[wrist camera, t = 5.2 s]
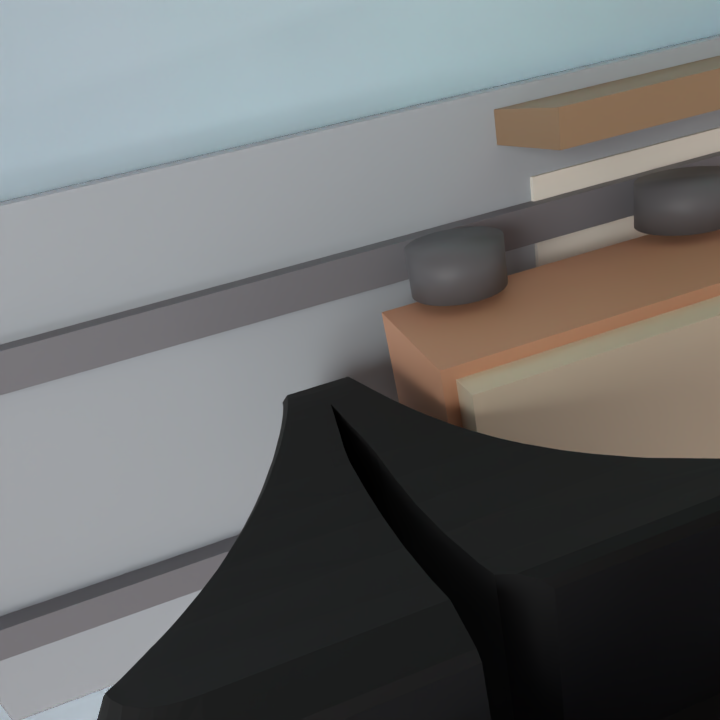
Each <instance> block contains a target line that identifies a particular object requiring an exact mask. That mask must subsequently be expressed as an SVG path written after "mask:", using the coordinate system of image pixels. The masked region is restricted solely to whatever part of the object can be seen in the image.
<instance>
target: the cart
mask: <svg viewBox="0 0 720 720" xmlns="http://www.w3.org/2000/svg"><path fill="white" fill-rule="evenodd" d="M634 228H635V229H636V230H637V231H639V232H642V233H645V234H648V235H645V236H642V237H638V238H635V239H631V240H628V241H624V242H621V243H618V244H614V245H611V246H607V247H604V248H600V249H597V250H594V251H590V252H587V253H583V254H580V255H577V256H573V257H570V258H566V259H563V260H559V261H556V262H553V263H549V264H546V265H542V266H539V267H535V268H532V269H529V270H525V271H522V272H518V273H515V274H511V275H508V276H507V266H506V255H505V245H504V234H503V232H502V231H501V230H499V229H497V228H493V227H484V226H472V227H460V228H453V229H447V230H442V231H438V232H434V233H431V234H428V235H425V236H422V237H419V238H417V239H415V240H413V241H411V242H410V243H408V244H407V245H406V246H405V248H404V252H405V258H406V264H407V270H408V276H409V282H410V288H411V294H412V297H413V299H414V300H415V301H417V302H415V303H412V304H409V305H405V306H402V307H398V308H395V309H391V310H388V311H385V312H381V313H382V318H383V323H384V328H385V333H386V338H387V343H388V348H389V353H390V359H391V364H392V369H393V374H394V379H395V384H396V389H397V394H398V399H399V403H401V404H403V405H405V406H407V407H410V408H412V409H414V410H416V411H419V412H421V413H423V414H426V415H428V416H431V417H434V418H436V419H439V420H442V421H444V422H447V423H450V424H452V425H455V426H458V427H461V428H465V429H468V430H471V431H475V432H479V433H482V434H486V435H490V436H493V437H497V438H501V439H505V440H510V441H514V442H519V443H524V444H529V445H535V446H541V447H547V448H553V449H559V450H566V451H574V452H582V453H591V454H603V455H615V456H628V457H643V458H720V166H693V167H683V168H675V169H669V170H664V171H659V172H655V173H651V174H648V175H645V176H642V177H640V178H638V179H636V180H635V181H634Z"/></svg>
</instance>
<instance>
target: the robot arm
mask: <svg viewBox="0 0 720 720" xmlns="http://www.w3.org/2000/svg"><path fill="white" fill-rule="evenodd" d="M97 720H720V458H643V457H628V456H615V455H603V454H591V453H582V452H574V451H566V450H559V449H553V448H547V447H541V446H535V445H529V444H524V443H519V442H514V441H510V440H505V439H501V438H497V437H493V436H490V435H486V434H482V433H479V432H475V431H471V430H468V429H465V428H461V427H458V426H455V425H452V424H450V423H447V422H444V421H442V420H439V419H436V418H434V417H431V416H428V415H426V414H423V413H421V412H419V411H416V410H414V409H412V408H410V407H407V406H405V405H403V404H401V403H399V402H397V401H394V400H392V399H390V398H388V397H386V396H384V395H382V394H381V393H379V392H377V391H375V390H373V389H371V388H369V387H367V386H365V385H363V384H362V383H360V382H358V381H356V380H354V379H352V378H350V377H345V378H341V379H338V380H335V381H332V382H328V383H325V384H322V385H319V386H315V387H312V388H309V389H306V390H302V391H299V392H296V393H293V394H289V395H287V396H286V398H285V399H284V401H283V418H282V424H281V430H280V434H279V438H278V442H277V446H276V450H275V454H274V457H273V460H272V463H271V466H270V468H269V471H268V474H267V477H266V479H265V482H264V485H263V488H262V490H261V492H260V495H259V497H258V499H257V501H256V504H255V506H254V508H253V510H252V512H251V514H250V516H249V518H248V520H247V522H246V523H245V525H244V527H243V529H242V531H241V533H240V534H239V536H238V538H237V539H236V541H235V542H234V544H233V546H232V547H231V549H230V551H229V552H228V554H227V556H226V557H225V559H224V560H223V562H222V563H221V565H220V566H219V568H218V569H217V571H216V572H215V574H214V575H213V576H212V577H211V579H210V580H209V581H208V583H207V584H206V585H205V587H204V588H203V589H202V590H201V592H200V593H199V594H198V596H197V597H196V598H195V599H194V600H193V601H192V603H191V604H190V605H189V606H188V607H187V609H186V610H185V611H184V612H183V613H182V615H181V616H180V617H179V618H178V619H177V620H176V622H175V623H174V624H173V625H172V626H171V627H170V628H169V629H168V631H167V632H166V633H165V634H164V635H163V636H162V637H161V638H160V639H159V640H158V641H157V642H156V643H155V644H154V645H153V646H152V647H151V648H150V649H149V650H148V651H147V652H146V653H145V654H144V655H143V656H142V657H141V658H140V659H139V660H138V662H137V663H136V664H135V665H134V666H133V667H132V668H131V669H130V670H129V671H128V672H127V673H126V674H125V675H124V676H123V677H122V678H121V679H120V680H119V681H118V682H117V683H116V684H115V685H114V686H113V687H112V688H111V689H109V690H108V691H107V692H106V693H105V695H104V697H103V701H102V704H101V708H100V712H99V715H98V719H97Z"/></svg>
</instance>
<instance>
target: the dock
mask: <svg viewBox="0 0 720 720" xmlns="http://www.w3.org/2000/svg"><path fill="white" fill-rule="evenodd" d="M693 166H720V35H716V36H712V37H707V38H703V39H699V40H695V41H690V42H686V43H682V44H677V45H673V46H669V47H664V48H660V49H656V50H652V51H647V52H643V53H639V54H634V55H630V56H626V57H622V58H617V59H613V60H609V61H604V62H600V63H596V64H591V65H587V66H583V67H579V68H574V69H570V70H566V71H561V72H557V73H553V74H549V75H544V76H540V77H536V78H531V79H527V80H523V81H518V82H514V83H510V84H506V85H501V86H497V87H493V88H488V89H484V90H480V91H475V92H471V93H467V94H463V95H458V96H454V97H450V98H445V99H441V100H437V101H433V102H428V103H424V104H420V105H415V106H411V107H407V108H402V109H398V110H394V111H390V112H385V113H381V114H377V115H372V116H368V117H364V118H359V119H355V120H351V121H347V122H342V123H338V124H334V125H329V126H325V127H321V128H317V129H312V130H308V131H304V132H299V133H295V134H291V135H286V136H282V137H278V138H274V139H269V140H265V141H261V142H256V143H252V144H248V145H244V146H239V147H235V148H231V149H226V150H222V151H218V152H213V153H209V154H205V155H201V156H196V157H192V158H188V159H183V160H179V161H175V162H170V163H166V164H162V165H158V166H153V167H149V168H145V169H140V170H136V171H132V172H128V173H123V174H119V175H115V176H110V177H106V178H102V179H97V180H93V181H89V182H85V183H80V184H76V185H72V186H67V187H63V188H59V189H54V190H50V191H46V192H42V193H37V194H33V195H29V196H24V197H20V198H16V199H12V200H7V201H3V202H0V704H1V706H2V707H3V708H4V710H5V711H6V712H7V714H8V715H9V717H10V718H11V719H12V720H21V719H24V718H27V717H29V716H32V715H35V714H37V713H40V712H43V711H45V710H48V709H51V708H53V707H56V706H59V705H61V704H64V703H67V702H70V701H72V700H75V699H78V698H80V697H83V696H86V695H88V694H91V693H94V692H96V691H99V690H102V689H104V688H107V687H110V686H112V685H115V684H116V683H117V682H118V681H119V680H120V679H121V678H122V677H123V676H124V675H125V674H126V673H127V672H128V671H129V670H130V669H131V668H132V667H133V666H134V665H135V664H136V663H137V662H138V660H139V659H140V658H141V657H142V656H143V655H144V654H145V653H146V652H147V651H148V650H149V649H150V648H151V647H152V646H153V645H154V644H155V643H156V642H157V641H158V640H159V639H160V638H161V637H162V636H163V635H164V634H165V633H166V632H167V631H168V629H169V628H170V627H171V626H172V625H173V624H174V623H175V622H176V620H177V619H178V618H179V617H180V616H181V615H182V613H183V612H184V611H185V610H186V609H187V607H188V606H189V605H190V604H191V603H192V601H193V600H194V599H195V598H196V597H197V596H198V594H199V593H200V592H201V590H202V589H203V588H204V587H205V585H206V584H207V583H208V581H209V580H210V579H211V577H212V576H213V575H214V574H215V572H216V571H217V569H218V568H219V566H220V565H221V563H222V562H223V560H224V559H225V557H226V556H227V554H228V552H229V551H230V549H231V547H232V546H233V544H234V542H235V541H236V539H237V538H238V536H239V534H240V533H241V531H242V529H243V527H244V525H245V523H246V522H247V520H248V518H249V516H250V514H251V512H252V510H253V508H254V506H255V504H256V501H257V499H258V497H259V495H260V492H261V490H262V488H263V485H264V482H265V479H266V477H267V474H268V471H269V468H270V466H271V463H272V460H273V457H274V454H275V450H276V446H277V442H278V438H279V434H280V430H281V424H282V418H283V401H284V399H285V398H286V396H287V395H289V394H293V393H296V392H299V391H302V390H306V389H309V388H312V387H315V386H319V385H322V384H325V383H328V382H332V381H335V380H338V379H341V378H345V377H350V378H352V379H354V380H356V381H358V382H360V383H362V384H363V385H365V386H367V387H369V388H371V389H373V390H375V391H377V392H379V393H381V394H382V395H384V396H386V397H388V398H390V399H392V400H394V401H397V402H399V399H398V394H397V389H396V384H395V379H394V374H393V369H392V364H391V359H390V353H389V348H388V343H387V338H386V333H385V328H384V323H383V318H382V313H381V312H385V311H388V310H391V309H395V308H398V307H402V306H405V305H409V304H412V303H415V302H417V301H415V300H414V299H413V297H412V294H411V288H410V282H409V276H408V270H407V264H406V258H405V252H404V248H405V246H406V245H407V244H408V243H410V242H411V241H413V240H415V239H417V238H419V237H422V236H425V235H428V234H431V233H434V232H438V231H442V230H447V229H453V228H460V227H472V226H484V227H493V228H497V229H499V230H501V231H502V232H503V234H504V245H505V255H506V266H507V276H508V275H511V274H515V273H518V272H522V271H525V270H529V269H532V268H535V267H539V266H542V265H546V264H549V263H553V262H556V261H559V260H563V259H566V258H570V257H573V256H577V255H580V254H583V253H587V252H590V251H594V250H597V249H600V248H604V247H607V246H611V245H614V244H618V243H621V242H624V241H628V240H631V239H635V238H638V237H642V236H645V235H648V234H645V233H642V232H639V231H637V230H636V229H635V228H634V181H635V180H636V179H638V178H640V177H642V176H645V175H648V174H651V173H655V172H659V171H664V170H669V169H675V168H683V167H693Z"/></svg>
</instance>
